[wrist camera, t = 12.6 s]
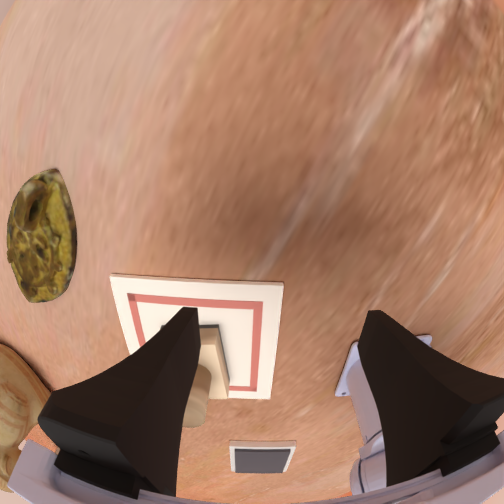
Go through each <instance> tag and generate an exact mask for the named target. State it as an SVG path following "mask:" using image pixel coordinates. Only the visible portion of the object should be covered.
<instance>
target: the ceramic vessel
mask: <svg viewBox="0 0 504 504" xmlns="http://www.w3.org/2000/svg"><path fill="white" fill-rule="evenodd" d="M50 395H51V393H50V391H49V390H48V389H47V388H46V387H45V386H44V384H43V383H42V382H41V380H40V379H39V378H38V376H37V375H36V374H35V373H34V371H33V370H32V369H31V368H30V367H29V366H28V364H27V363H26V362H25V361H24V360H23V359H22V358H21V357H20V356H19V355H18V354H17V353H16V352H14V351H13V350H12V349H11V348H9V347H7V346H5V345H3V344H0V489H1V490H3V491H6V492H14V491H12V490H11V489H10V488H8V486H7V484H8V481H9V479H10V476H11V474H12V472H13V469H14V467H15V465H16V463H17V461H18V458H19V456H20V454H21V452H22V451H21V450H19V449H18V446H19V444H20V443H21V442H22V441H23V440H24V439H25V437H26V436H27V435H28V433H29V432H30V431H31V429H32V428H33V427H34V426H35V425H37V424H39V423H38V420H37V419H38V416H39V414H40V412H41V411H42V409H43V407H44V405H45V404H46V402H47V400H48V398H49V397H50Z"/></svg>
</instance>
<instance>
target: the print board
mask: <svg viewBox="0 0 504 504" xmlns="http://www.w3.org/2000/svg"><path fill="white" fill-rule="evenodd" d="M109 277H110V282H111V286H112V291H113V295H114V299H115V303H116V307H117V311H118V315H119V319H120V322H121V326H122V330H123V333H124V336H125V340H126V343H127V346H128V349H129V353H130V355H131V354H133V353H134V352H135V351H137V350H138V349H139V348H140V347H141V346H143V345H144V344H145V343H146V342H147V341H148V340H150V339H151V338H152V337H153V336H154V335H155V334H156V333H157V332H158V331H159V330H160V328H161V326H162V325H165V324H166V323H167V322H168V321H169V320H170V319H171V318H172V317H173V316H174V315H175V314H176V313H177V312H178V311H179V310H180V309H181V308H182V307H196V308H198V318H199V325H212V324H219V328H220V334H221V339H222V344H223V349H224V354H225V358H226V363H227V368H228V373H229V377H230V384H229V395H228V398H245V399H270V395H271V388H272V380H273V373H274V365H275V357H276V349H277V341H278V333H279V324H280V315H281V306H282V297H283V287H284V285H283V282H252V281H227V280H205V279H186V278H168V277H152V276H137V275H124V274H111V275H110V276H109Z"/></svg>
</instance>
